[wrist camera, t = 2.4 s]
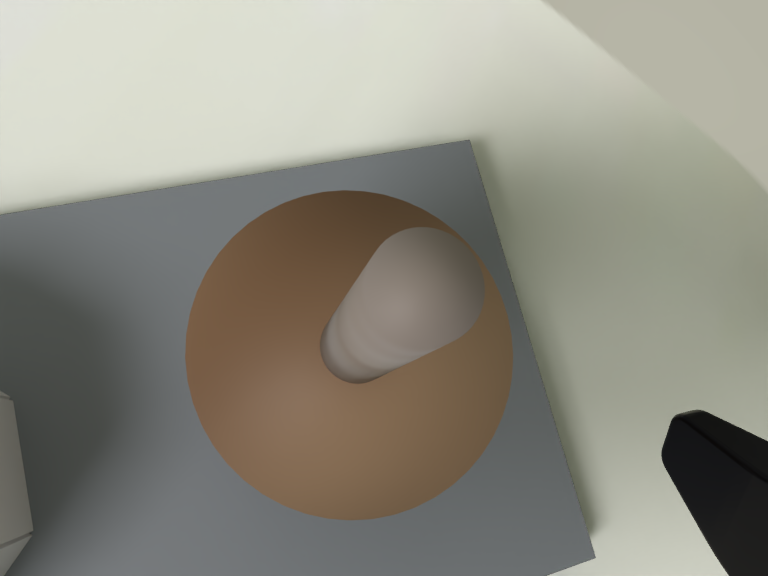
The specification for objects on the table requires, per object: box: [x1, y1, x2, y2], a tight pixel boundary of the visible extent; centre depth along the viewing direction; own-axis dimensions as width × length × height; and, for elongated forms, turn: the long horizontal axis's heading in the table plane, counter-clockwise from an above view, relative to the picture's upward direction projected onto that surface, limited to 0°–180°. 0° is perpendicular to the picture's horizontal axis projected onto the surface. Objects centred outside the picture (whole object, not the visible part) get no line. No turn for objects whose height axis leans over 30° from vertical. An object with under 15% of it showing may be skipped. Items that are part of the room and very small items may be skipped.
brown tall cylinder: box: [185, 190, 513, 520], centre depth 11 cm, size 4×4×13 cm
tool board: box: [0, 140, 596, 576], centre depth 15 cm, size 25×13×4 cm, turn 105°
